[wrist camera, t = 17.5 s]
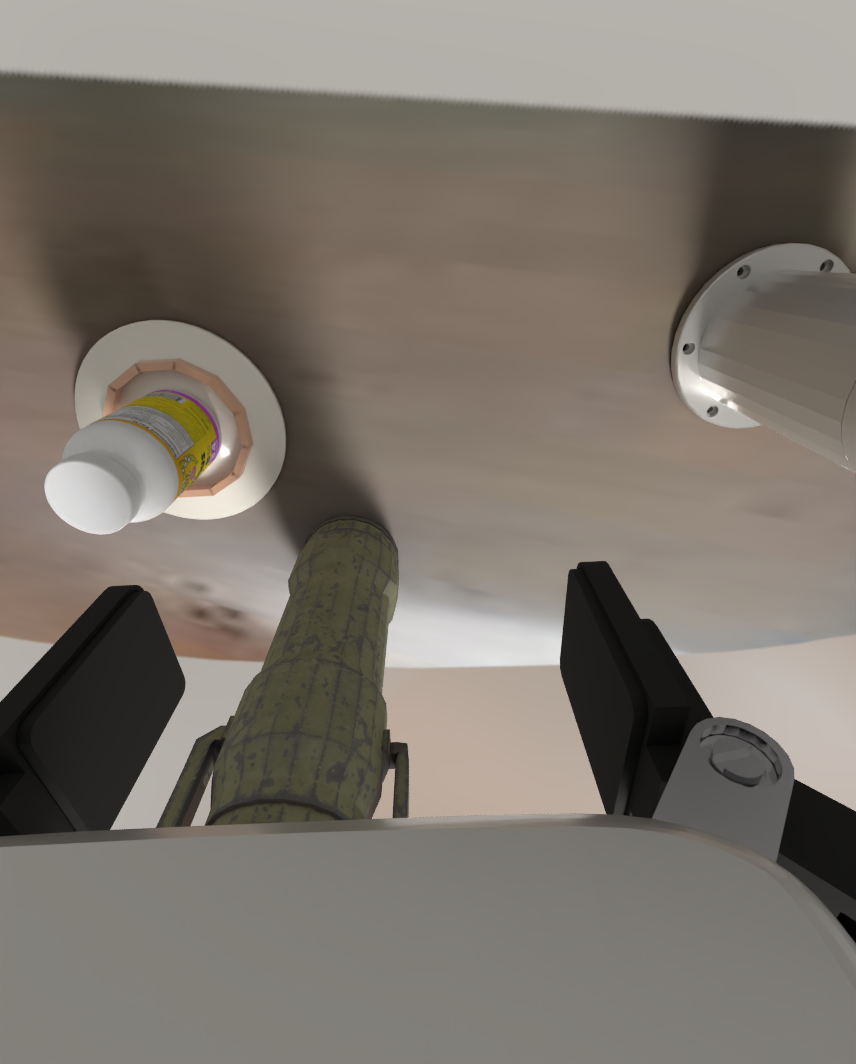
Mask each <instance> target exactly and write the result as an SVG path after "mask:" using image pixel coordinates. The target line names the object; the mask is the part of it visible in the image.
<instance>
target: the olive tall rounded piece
mask: <svg viewBox="0 0 856 1064" xmlns="http://www.w3.org/2000/svg"><path fill="white" fill-rule="evenodd" d="M288 583H289V592H290V597H289V600H288V602H287V605H286V608H285V610H284V613H283V615H282V618H281V621H280V623H279V626H278V628H277V631H276V634H275V636H274V639H273V641H272V644H271V647H270V649H269V652H268V654H267V657H266V660H265V662H264V665H263V667H262V670H261V672H260V673H259V674H257V675H256V676H255V677H254V678H253V680H252V682H251V683H250V684H249V685H248V687H247V688H246V689H245V691H244V694H243V697H242V699H241V701H240V704H239V706H238V709H237V711H236V714H235V716H230V718H229V721H228V723H227V725H226V726H220V727H218V728H216V729H214V730H212V731H211V732H209V733H207V734H205V735H203V736H201V737H199V738H198V739H196V741H195V744H194V746H193V748H192V751H191V753H190V755H189V757H188V759H187V762H186V764H185V766H184V769H183V771H182V773H181V775H180V777H179V780H178V782H177V784H176V786H175V788H174V790H173V792H172V795H171V797H170V799H169V801H168V803H167V805H166V807H165V810H164V812H163V814H162V816H161V818H160V820H159V823H158V825H157V827H156V828H167V827H189V826H190V825H191V823H192V820H193V818H194V816H195V813H196V811H197V808H198V806H199V803H200V801H201V798H202V796H203V794H204V791H205V789H206V786H207V784H208V781H209V779H210V776H211V774H212V771H213V770H214V771H213V777H212V787H211V810H210V813H209V816H208V818H207V821H206V824H205V826H212V825H236V824H260V823H285V822H310V821H335V820H361V819H372V816H373V814H374V812H375V809H376V807H377V805H378V802H379V800H380V798H381V792H382V782H383V781H384V779H385V776H386V774H387V772H388V769H395V785H394V802H393V818H408V817H409V816H408V815H409V759H408V746H407V743H399V742H392V743H391V742H390V730H386V727H387V711H386V703H385V700H384V698H383V696H382V687H383V677H384V666H385V655H386V645H387V634H388V625H389V623H390V622H391V620H392V619H393V615H394V611H395V607H396V603H397V598H398V585H399V570H398V549H397V547H396V545H395V542H394V540H393V538H392V537H391V536H390V535H389V533H388V532H387V531H386V530H385V529H384V528H383V527H381V526H380V525H378V524H376V523H375V522H373V521H371V520H369V519H365V518H362V517H358V516H338V517H335V518H332V519H329V520H326V521H324V522H323V523H321V524H320V525H319V526H317V527H316V528H314V530H313V531H312V533H311V534H310V536H309V537H308V539H307V541H306V544H305V546H304V548H303V549H302V551H301V552H300V554H299V556H298V558H297V561H296V563H295V565H294V568H293V570H292V573H291V575H290V578H289V580H288Z"/></svg>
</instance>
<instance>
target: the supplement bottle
mask: <svg viewBox="0 0 856 1064" xmlns="http://www.w3.org/2000/svg"><path fill="white" fill-rule="evenodd" d="M221 442H222V436H221V429H220V426H219V423H218V421H217V419H216V417H215V415H214V414H213V412H212V411H211V409H210V408H209V407H208V406H207V405H206V404H204V403H203V402H202V401H201V400H200V399H198V398H197V397H195V396H193V395H191V394H189V393H187V392H184V391H181V390H176V389H161V390H156V391H153V392H151V393H149V394H146V395H144V396H143V397H141V398H139V399H137V400H135V401H133V402H131V403H129V404H127V405H126V406H124V407H122V408H120V409H118V410H116V411H114V412H112V413H110V414H109V415H107V416H105V417H103V418H101V419H99V420H97V421H95V422H93V423H91V424H89V425H87V426H86V427H84V428H82V429H80V430H79V431H77V432H76V433H75V434H74V435H73V436H72V437H71V438H70V439H69V441H68V442H67V444H66V446H65V449H64V451H63V457H62V461H61V462H60V463H58V464H57V465H55V466H54V467H53V468H52V469H51V470H50V471H49V473H48V474H47V476H46V479H45V485H44V486H45V494H46V497H47V500H48V502H49V504H50V506H51V507H52V509H53V510H54V511H55V513H56V514H57V515H58V516H59V517H60V518H62V519H63V520H64V521H65V522H67V523H68V524H70V525H71V526H73V527H75V528H77V529H79V530H82V531H85V532H88V533H93V534H109V533H113V532H116V531H118V530H120V529H122V528H123V527H124V526H125V525H127V524H128V523H129V522H141V521H145V520H149V519H152V518H154V517H156V516H158V515H159V514H161V513H162V512H163V511H165V510H166V509H167V508H168V507H169V506H170V505H171V504H172V503H173V502H174V501H175V500H176V499H177V498H178V497H179V496H180V495H181V494H182V493H183V492H184V491H185V490H186V489H187V488H188V487H189V486H190V485H191V484H192V483H193V482H194V481H195V480H196V479H197V478H198V477H199V476H200V475H201V474H202V473H203V472H204V471H205V470H206V469H207V467H208V466H209V465H210V464H211V463H212V462H213V461H214V460H215V458H216V457H217V455H218V453H219V451H220V448H221Z"/></svg>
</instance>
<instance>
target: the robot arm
mask: <svg viewBox="0 0 856 1064" xmlns="http://www.w3.org/2000/svg"><path fill="white" fill-rule="evenodd" d="M739 268H740V272H739V274H738V275H737V272H738V270H739ZM685 344H686V348H685V349H684V350H683V347H684V345H685ZM671 371H672V377H673V383H674V385H675V388H676V390H677V392H678V395H679V397H680V398H681V399H682V401H683V402H684V404H685V405H686V406H687V407H688V408H689V409H690V410H691V411H692V412H694V413H695V414H696V415H697V416H699V417H700V418H702V419H704V420H705V421H707V422H710V423H713V424H715V425H718V426H721V427H728V428H751V427H756V426H760V425H763V426H765V427H767V428H769V429H771V430H773V431H775V432H777V433H779V434H781V435H783V436H784V437H786V438H788V439H790V440H792V441H794V442H796V443H798V444H800V445H802V446H804V447H806V448H808V449H809V450H811V451H813V452H815V453H817V454H819V455H821V456H823V457H825V458H827V459H829V460H831V461H832V462H834V463H836V464H838V465H840V466H842V467H844V468H846V469H848V470H850V471H852V472H854V473H856V274H853V273H851V272H850V270H849V268H848V267H847V266H846V265H845V264H844V263H843V262H842V261H841V259H840V258H839V257H837V256H836V255H834V254H833V253H831V252H829V251H828V250H826V249H824V248H821V247H818V246H814V245H811V244H800V243H786V244H774V245H770V246H766V247H762V248H759V249H755V250H753V251H751V252H749V253H747V254H745V255H743V256H740V257H738V258H737V259H735V260H734V261H732V262H731V263H729V264H728V265H726V266H725V267H723V268H722V269H721V270H719V271H718V272H717V273H716V274H715V275H714V276H713V277H712V278H711V279H710V280H709V281H708V282H706V283H705V285H704V286H703V287H702V288H701V290H700V291H699V292H698V293H697V294H696V296H695V297H694V298H693V299H692V301H691V303H690V304H689V306H688V308H687V310H686V311H685V313H684V315H683V316H682V319H681V321H680V324H679V326H678V329H677V331H676V334H675V338H674V343H673V347H672V353H671ZM708 408H709V410H708ZM707 410H708V411H707ZM560 669H561V675H562V678H563V681H564V685H565V688H566V691H567V694H568V697H569V700H570V703H571V706H572V709H573V712H574V715H575V719H576V722H577V724H578V728H579V731H580V734H581V737H582V740H583V743H584V746H585V750H586V753H587V756H588V759H589V762H590V765H591V768H592V771H593V774H594V777H595V780H596V784H597V787H598V790H599V793H600V796H601V799H602V802H603V805H604V808H605V811H606V814H607V815H605V814H522V815H475V816H449V817H448V816H447V817H419V818H390V819H361V820H335V821H310V822H285V823H260V824H236V825H212V826H189V827H167V828H146V829H124V830H110V829H111V827H112V825H113V823H114V821H115V819H116V818H117V816H118V814H119V812H120V810H121V808H122V806H123V805H124V803H125V801H126V799H127V797H128V795H129V794H130V792H131V790H132V788H133V786H134V784H135V782H136V781H137V779H138V777H139V775H140V773H141V771H142V769H143V768H144V766H145V764H146V762H147V760H148V758H149V757H150V755H151V753H152V751H153V749H154V747H155V745H156V744H157V741H158V740H159V738H160V736H161V734H162V733H163V731H164V729H165V727H166V725H167V723H168V721H169V720H170V718H171V716H172V714H173V712H174V710H175V708H176V707H177V705H178V703H179V701H180V699H181V697H182V695H183V693H184V690H185V678H184V675H183V672H182V670H181V667H180V665H179V662H178V660H177V657H176V655H175V653H174V650H173V648H172V645H171V643H170V640H169V638H168V635H167V633H166V630H165V628H164V625H163V623H162V620H161V618H160V616H159V613H158V611H157V608H156V606H155V603H154V601H153V598H152V596H151V594H150V593H149V592H147V591H144V590H143V588H141V587H140V586H138V585H126V586H111V587H108V588H107V589H106V590H105V591H104V592H103V593H102V594H101V595H100V596H99V597H98V598H97V599H96V600H95V601H94V602H93V604H92V605H91V606H90V607H89V608H88V609H87V610H86V611H85V612H84V613H83V614H82V615H81V616H80V617H79V618H78V620H77V621H76V622H75V623H74V624H73V625H72V626H71V627H70V628H69V629H68V630H67V631H66V632H65V633H64V635H63V636H62V637H61V638H60V639H59V640H58V641H57V642H56V643H55V644H54V645H53V647H51V649H50V650H49V651H48V652H47V653H46V654H45V655H44V656H43V657H42V658H41V659H40V660H39V661H38V662H37V663H36V665H35V666H34V667H33V668H32V669H31V670H30V671H29V672H28V673H27V674H26V675H25V676H24V677H23V679H21V681H20V682H19V683H18V684H17V685H16V686H15V687H14V688H13V689H12V690H11V691H10V692H9V694H8V695H7V696H6V697H5V698H4V699H3V700H2V701H1V702H0V1064H856V811H854V810H852V809H850V808H848V807H846V806H845V805H842V804H841V803H839V802H837V801H835V800H833V799H831V798H829V797H828V796H826V795H824V794H822V793H820V792H818V791H816V790H814V789H812V788H810V787H809V786H807V785H805V784H803V783H801V782H799V781H797V780H795V779H794V767H793V765H792V763H791V761H790V758H789V756H788V755H787V753H786V752H785V751H784V750H783V748H782V747H781V746H780V745H779V744H778V743H777V742H776V741H775V740H774V739H772V738H771V737H770V736H769V735H767V734H766V733H765V732H763V731H761V730H760V729H758V728H756V727H754V726H752V725H750V724H748V723H744V722H742V721H739V720H736V719H730V718H723V717H716V718H713V716H712V715H711V713H710V711H709V710H708V708H707V706H706V705H705V703H704V701H703V700H702V698H701V697H700V695H699V693H698V692H697V690H696V689H695V687H694V685H693V684H692V682H691V680H690V679H689V677H688V676H687V674H686V672H685V671H684V669H683V667H682V666H681V664H680V663H679V661H678V659H677V658H676V656H675V655H674V653H673V651H672V650H671V648H670V646H669V645H668V643H667V642H666V640H665V638H664V637H663V635H662V633H661V632H660V630H659V629H658V627H657V626H656V624H655V623H654V622H653V621H652V620H650V619H640V617H639V616H638V614H637V612H636V611H635V609H634V607H633V605H632V604H631V602H630V600H629V599H628V597H627V595H626V594H625V592H624V590H623V588H622V587H621V585H620V583H619V582H618V580H617V578H616V576H615V575H614V573H613V571H612V570H611V568H610V566H609V564H608V563H607V562H606V561H596V562H580V563H578V566H577V569H571V570H570V571H569V574H568V584H567V594H566V604H565V614H564V625H563V635H562V645H561V655H560Z"/></svg>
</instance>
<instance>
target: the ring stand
mask: <svg viewBox="0 0 856 1064" xmlns="http://www.w3.org/2000/svg"><path fill="white" fill-rule="evenodd" d="M161 389H176V390H181V391H184V392H187V393H189V394H191V395H193V396H195V397H197V398H198V399H200V400H201V401H202V402H203V403H204V404H206V405H207V406H208V407H209V408H210V409H211V411H212V412H213V414H214V415H215V417H216V419H217V421H218V423H219V426H220V429H221V436H222V442H221V448H220V451H219V453H218V455H217V457H216V458H215V460H214V461H213V462H212V463H211V464H210V465H209V466H208V467H207V469H206V470H205V471H204V472H203V473H202V474H201V475H200V476H199V477H198V478H197V479H196V480H195V481H194V482H193V483H192V484H191V485H190V486H189V487H188V488H187V489H186V490H185V491H184V492H183V493H182V494H181V495H180V496H179V497H178V498H177V499H176V500H175V501H174V502H173V503H172V504H171V505H170V506H169V507H168V508H167V509H166V510H165V511H163V512H165V513H168V514H171V515H175V516H179V517H184V518H191V519H217V518H224V517H228V516H232V515H235V514H237V513H240V512H242V511H244V510H246V509H248V508H250V507H251V506H253V505H254V504H256V503H257V502H258V501H259V500H261V499H262V498H263V497H264V496H265V495H266V494H267V492H268V491H269V490H270V489H271V487H272V486H273V484H274V483H275V481H276V480H277V478H278V476H279V473H280V471H281V469H282V466H283V463H284V459H285V453H286V427H285V421H284V417H283V413H282V410H281V407H280V404H279V402H278V399H277V397H276V395H275V393H274V391H273V389H272V388H271V386H270V384H269V382H268V381H267V380H266V378H265V377H264V375H263V374H262V373H261V371H260V370H259V369H258V368H257V367H256V366H255V364H254V363H253V362H252V361H251V360H250V359H249V358H248V357H247V356H246V355H245V354H243V353H242V352H241V351H240V350H239V349H238V348H236V347H235V346H233V345H232V344H231V343H229V342H228V341H226V340H225V339H223V338H221V337H220V336H218V335H216V334H214V333H212V332H210V331H208V330H205V329H203V328H200V327H198V326H195V325H191V324H188V323H184V322H179V321H172V320H147V321H140V322H135V323H132V324H129V325H125V326H122V327H120V328H118V329H116V330H114V331H112V332H110V333H108V334H107V335H105V336H104V337H103V338H101V339H100V340H99V341H98V342H97V343H96V344H95V345H94V346H93V347H92V348H91V349H90V351H89V352H88V354H87V355H86V357H85V358H84V360H83V362H82V364H81V367H80V369H79V371H78V375H77V380H76V384H75V396H74V397H75V410H76V415H77V420H78V424H79V427H80V429H82V428H84V427H86V426H87V425H89V424H91V423H93V422H95V421H97V420H99V419H101V418H103V417H105V416H107V415H109V414H110V413H112V412H114V411H116V410H118V409H120V408H122V407H124V406H126V405H127V404H129V403H131V402H133V401H135V400H137V399H139V398H141V397H143V396H144V395H146V394H149V393H151V392H153V391H156V390H161Z"/></svg>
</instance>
